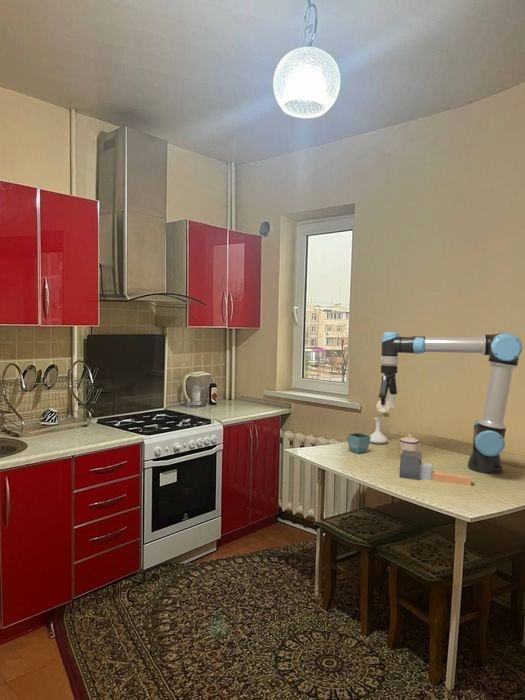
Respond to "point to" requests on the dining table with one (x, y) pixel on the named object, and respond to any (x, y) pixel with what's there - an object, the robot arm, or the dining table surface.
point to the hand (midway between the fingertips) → (387, 409)
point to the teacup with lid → (408, 444)
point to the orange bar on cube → (441, 475)
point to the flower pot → (358, 442)
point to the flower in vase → (377, 435)
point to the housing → (410, 464)
